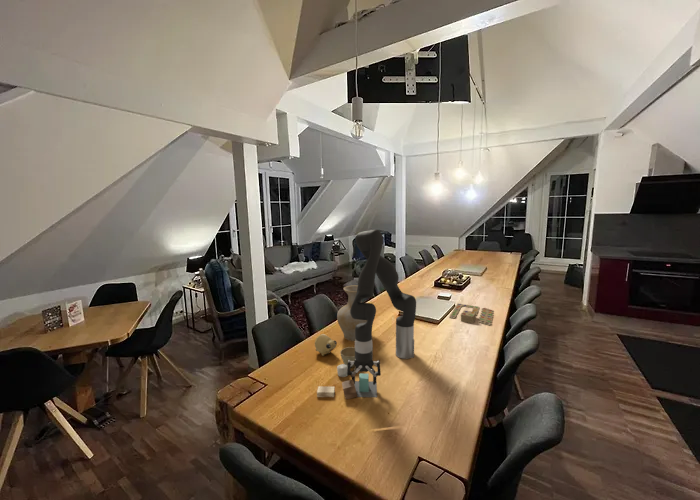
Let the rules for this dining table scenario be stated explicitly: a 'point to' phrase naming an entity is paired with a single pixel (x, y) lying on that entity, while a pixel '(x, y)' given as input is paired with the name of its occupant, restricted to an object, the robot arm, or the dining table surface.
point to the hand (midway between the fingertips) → (364, 383)
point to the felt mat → (371, 392)
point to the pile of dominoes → (473, 314)
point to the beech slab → (325, 391)
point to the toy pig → (324, 344)
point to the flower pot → (348, 355)
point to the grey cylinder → (342, 370)
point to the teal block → (363, 382)
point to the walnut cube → (349, 389)
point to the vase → (348, 315)
